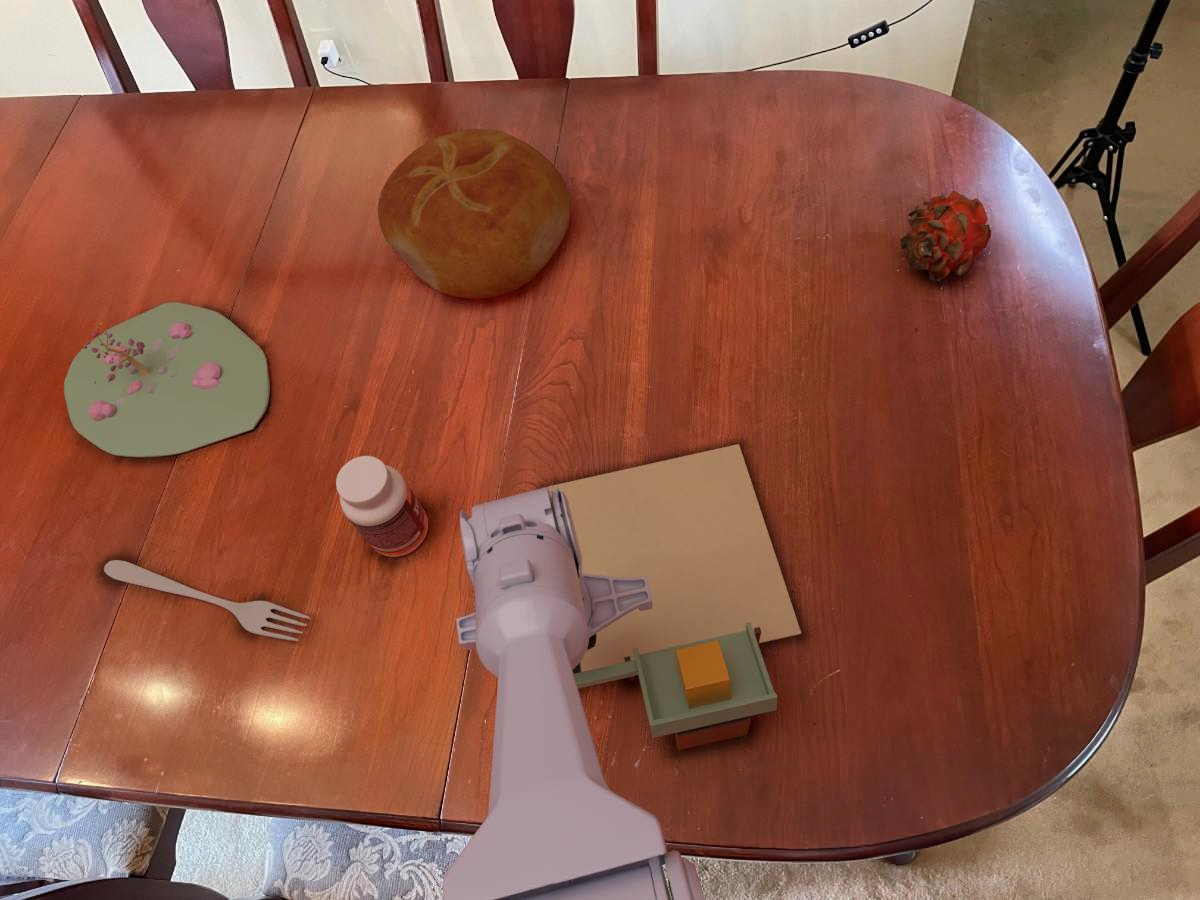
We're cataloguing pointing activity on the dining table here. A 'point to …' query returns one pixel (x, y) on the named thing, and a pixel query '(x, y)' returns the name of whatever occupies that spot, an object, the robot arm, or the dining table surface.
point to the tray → (667, 691)
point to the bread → (475, 212)
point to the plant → (167, 383)
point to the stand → (715, 730)
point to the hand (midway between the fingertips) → (568, 642)
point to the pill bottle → (381, 506)
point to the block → (703, 674)
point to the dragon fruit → (946, 235)
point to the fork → (209, 599)
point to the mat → (681, 553)
